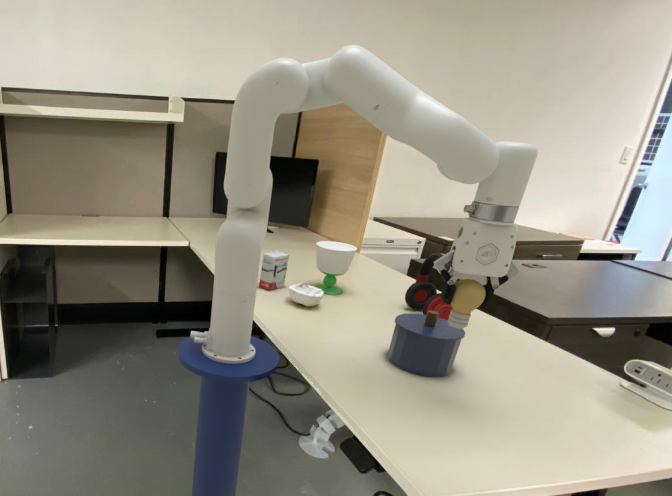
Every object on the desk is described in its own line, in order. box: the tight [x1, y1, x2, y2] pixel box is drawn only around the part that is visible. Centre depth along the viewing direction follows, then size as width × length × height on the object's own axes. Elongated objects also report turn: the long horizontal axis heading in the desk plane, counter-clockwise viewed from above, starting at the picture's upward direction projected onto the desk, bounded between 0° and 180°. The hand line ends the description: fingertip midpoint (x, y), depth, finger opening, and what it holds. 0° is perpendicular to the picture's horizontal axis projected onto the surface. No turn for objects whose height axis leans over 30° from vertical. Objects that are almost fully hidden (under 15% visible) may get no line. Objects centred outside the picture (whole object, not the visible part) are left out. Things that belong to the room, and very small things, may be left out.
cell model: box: [288, 281, 325, 307], centre depth 147 cm, size 10×12×7 cm
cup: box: [315, 240, 358, 295], centre depth 161 cm, size 14×14×16 cm
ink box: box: [258, 250, 290, 291], centre depth 160 cm, size 8×5×12 cm, turn 134°
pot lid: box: [394, 310, 466, 341], centre depth 111 cm, size 16×16×4 cm
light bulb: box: [448, 278, 486, 329], centre depth 94 cm, size 6×6×10 cm
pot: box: [387, 323, 462, 378], centre depth 113 cm, size 15×15×10 cm
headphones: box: [404, 252, 458, 320], centre depth 142 cm, size 18×10×20 cm, turn 3°
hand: (463, 303), depth 94 cm, fingers closed on light bulb, 6 cm apart
